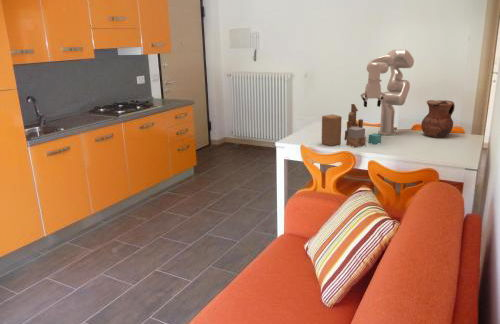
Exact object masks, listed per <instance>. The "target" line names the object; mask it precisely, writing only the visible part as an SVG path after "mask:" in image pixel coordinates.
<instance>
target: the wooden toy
mask: <svg viewBox="0 0 500 324" xmlns="http://www.w3.org/2000/svg"><path fill="white" fill-rule="evenodd" d="M350 105H351V106H350V111H349V113H348V115H347V116H348V119H347V122H346V130H345V131H344V139H345V140H347V137H348V128H352V127H360V128H364V127H363V125H364V122H363V121H364V119H362V118H359V119H358V123H357V112H358V111H359V110H358V108H357V106H356V104H355V103H351V104H350Z"/></svg>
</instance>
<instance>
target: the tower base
mask: <svg viewBox="0 0 500 324" xmlns="http://www.w3.org/2000/svg"><path fill="white" fill-rule="evenodd" d="M366 139H367V137H366V136H365V137H363V138H358V139H355V138H351V137H347V139H346V145H345V146H349V145H350V146H349V147H352V146H354V147H353V148H359V147H358V146H361V147H364V146H363V145H365V146H366V141H367V140H366Z"/></svg>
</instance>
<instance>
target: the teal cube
mask: <svg viewBox="0 0 500 324" xmlns="http://www.w3.org/2000/svg"><path fill="white" fill-rule="evenodd" d="M371 143H372V145H374V144H375V145H379V144H378V143H380V144H382V135H381V134H378V133H370V134H368V144H371Z"/></svg>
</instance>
